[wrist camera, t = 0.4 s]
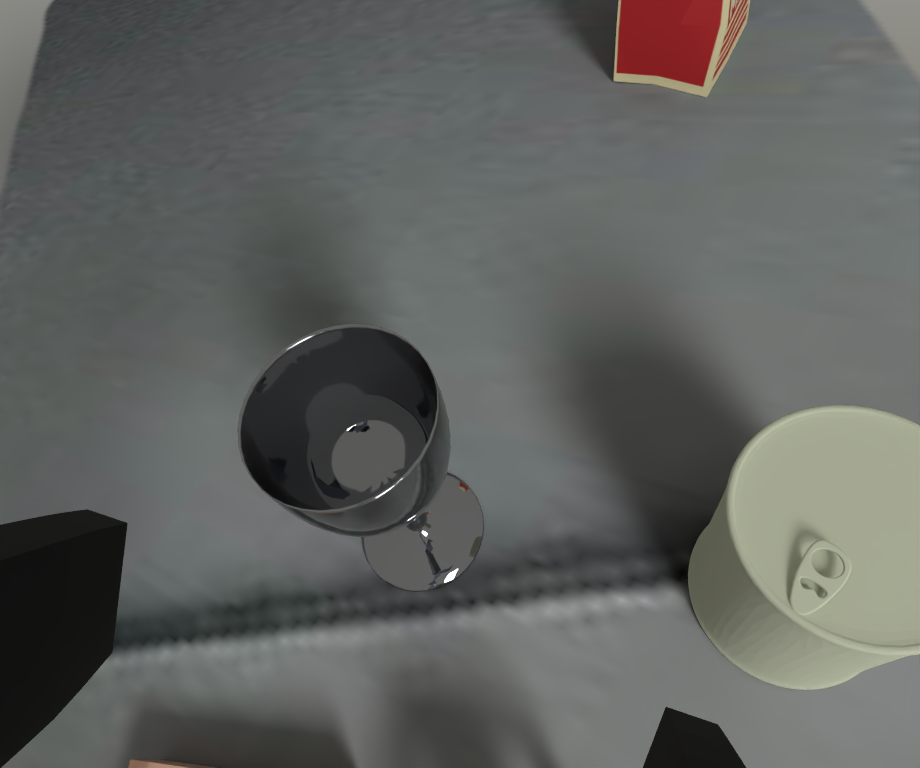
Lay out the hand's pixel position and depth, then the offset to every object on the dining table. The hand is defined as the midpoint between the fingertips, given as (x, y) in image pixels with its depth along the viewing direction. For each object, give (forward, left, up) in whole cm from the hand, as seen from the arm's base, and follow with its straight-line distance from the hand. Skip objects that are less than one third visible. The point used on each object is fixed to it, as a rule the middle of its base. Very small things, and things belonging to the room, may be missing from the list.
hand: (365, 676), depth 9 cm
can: (+8, -12, -28) cm, 32 cm away
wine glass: (+10, +7, -28) cm, 31 cm away
